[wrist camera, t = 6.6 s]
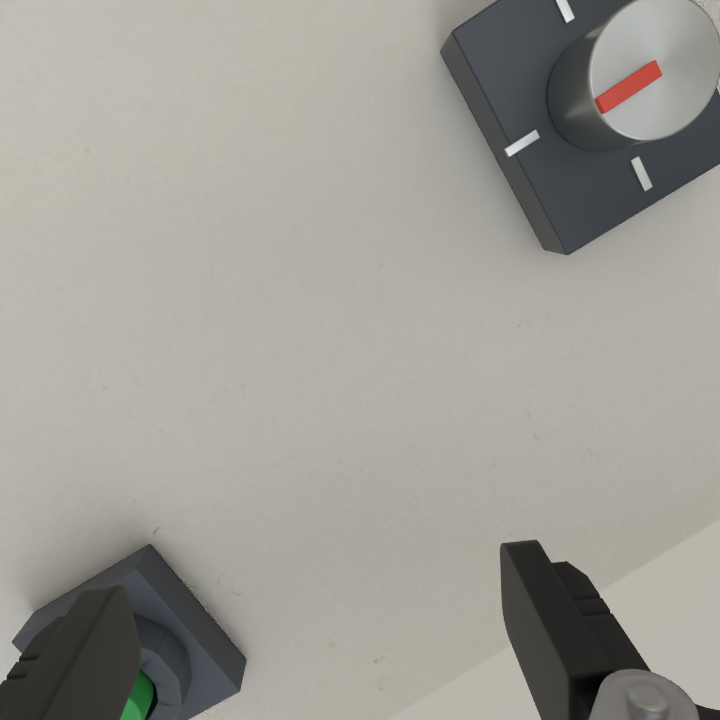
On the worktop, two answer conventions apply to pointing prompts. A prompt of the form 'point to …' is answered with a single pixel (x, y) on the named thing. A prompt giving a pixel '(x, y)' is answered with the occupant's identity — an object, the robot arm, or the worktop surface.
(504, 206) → the worktop surface
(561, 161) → the control panel
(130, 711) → the button
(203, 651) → the button block
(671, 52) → the dial
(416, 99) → the worktop surface
